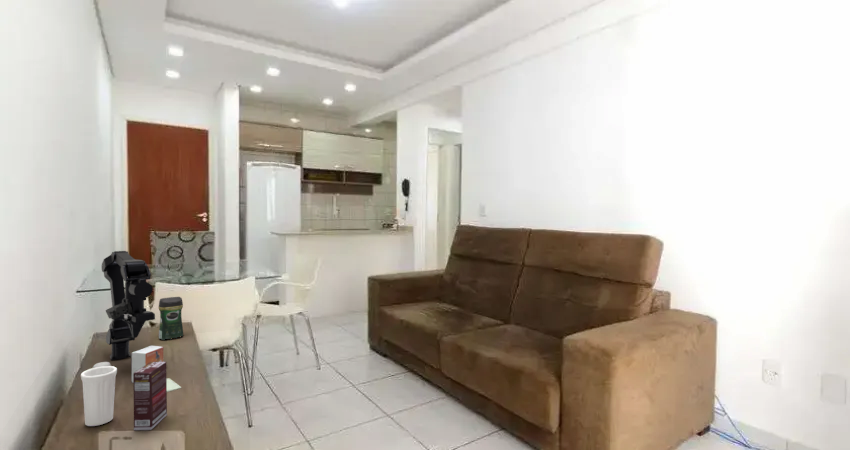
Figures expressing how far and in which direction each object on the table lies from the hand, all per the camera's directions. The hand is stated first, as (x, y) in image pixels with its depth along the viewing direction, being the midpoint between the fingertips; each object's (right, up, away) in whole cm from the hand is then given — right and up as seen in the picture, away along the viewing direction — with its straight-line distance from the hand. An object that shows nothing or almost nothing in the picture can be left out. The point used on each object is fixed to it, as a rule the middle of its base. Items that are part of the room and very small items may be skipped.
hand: (134, 337), depth 156 cm
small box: (+10, -13, -8) cm, 18 cm away
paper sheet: (+18, -13, -15) cm, 27 cm away
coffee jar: (-10, -10, +38) cm, 41 cm away
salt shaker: (+10, -13, -29) cm, 33 cm away
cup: (+16, -14, -38) cm, 43 cm away
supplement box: (+30, -14, -38) cm, 50 cm away
